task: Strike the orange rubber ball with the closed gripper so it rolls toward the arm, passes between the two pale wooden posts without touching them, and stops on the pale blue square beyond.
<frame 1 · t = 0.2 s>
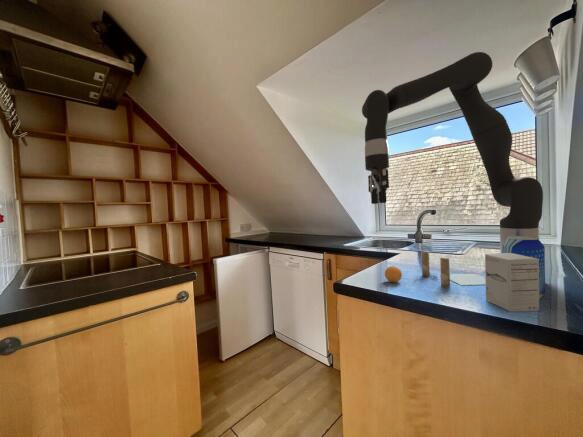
hand: (378, 203, 81), 28 cm above the countertop, tool pointing down, fingers open, 8 cm apart
ball: (393, 274, 83), on the countertop
supplement box: (511, 306, 60), on the countertop
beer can: (523, 295, 67), on the countertop
far post: (425, 275, 89), on the countertop
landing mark: (468, 279, 82), on the countertop
near post: (445, 286, 76), on the countertop
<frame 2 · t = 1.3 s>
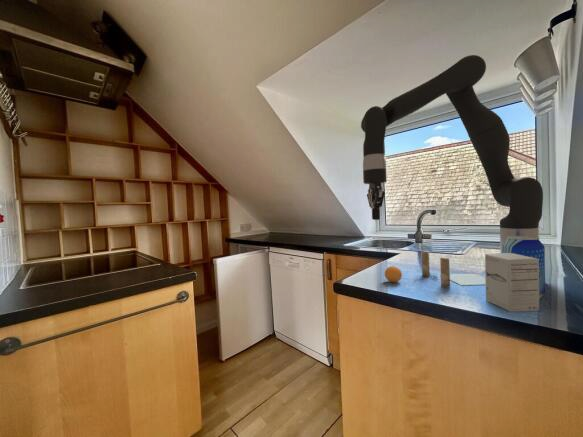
hand: (375, 219, 83), 22 cm above the countertop, tool pointing down, fingers closed
nothing on the countertop moved.
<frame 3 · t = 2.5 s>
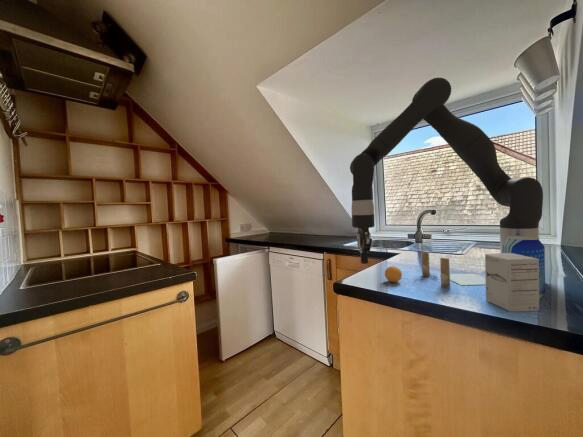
hand: (364, 263, 84), 7 cm above the countertop, tool pointing down, fingers closed
nothing on the countertop moved.
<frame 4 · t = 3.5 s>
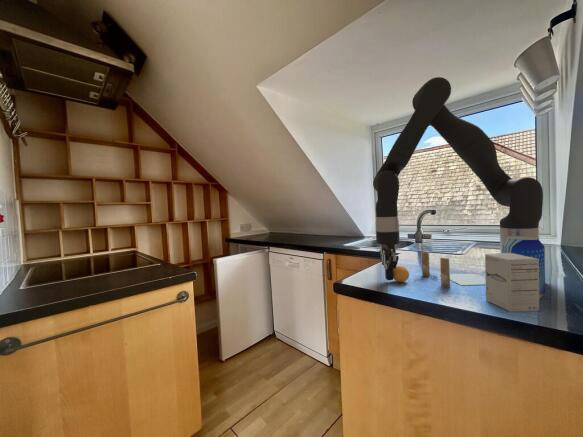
hand: (389, 279, 83), 1 cm above the countertop, tool pointing down, fingers closed
ball: (400, 273, 83), on the countertop
everything else where it was.
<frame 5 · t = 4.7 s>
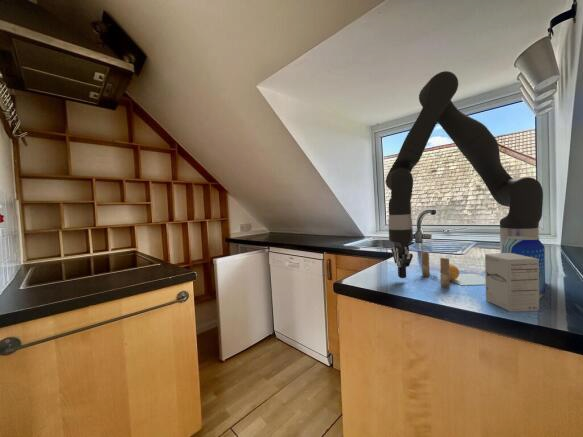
hand: (402, 277, 83), 2 cm above the countertop, tool pointing down, fingers closed
ball: (449, 272, 82), on the countertop
everything else where it was.
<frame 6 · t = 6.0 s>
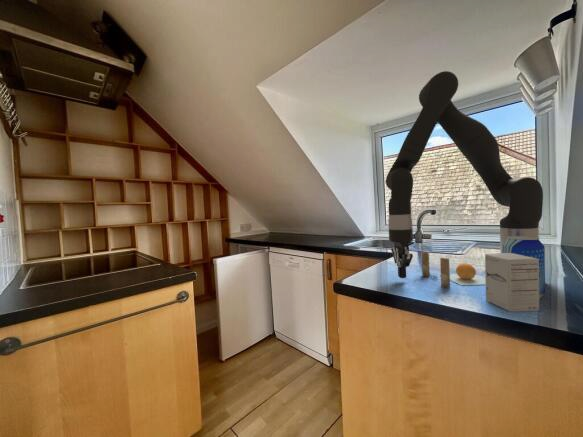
hand: (402, 277, 83), 2 cm above the countertop, tool pointing down, fingers closed
ball: (465, 271, 82), on the countertop
everything else where it was.
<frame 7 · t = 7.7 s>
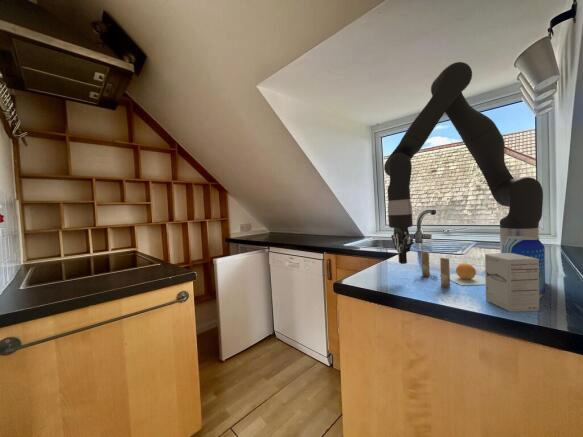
hand: (402, 263, 83), 6 cm above the countertop, tool pointing down, fingers closed
nothing on the countertop moved.
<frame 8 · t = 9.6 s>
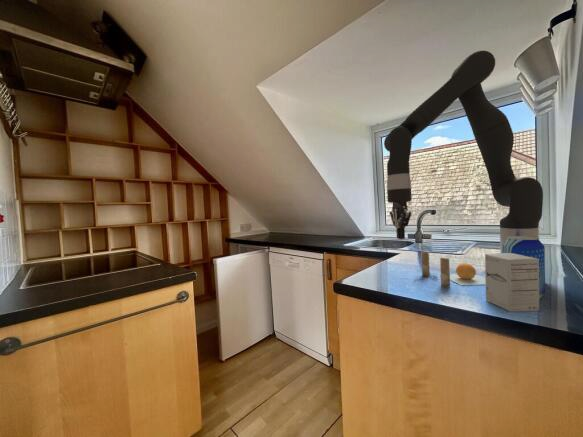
hand: (400, 238, 83), 15 cm above the countertop, tool pointing down, fingers closed
nothing on the countertop moved.
at the end: ball 0.6 cm from the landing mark (horizontally); ball never touched near post; ball never touched far post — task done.
